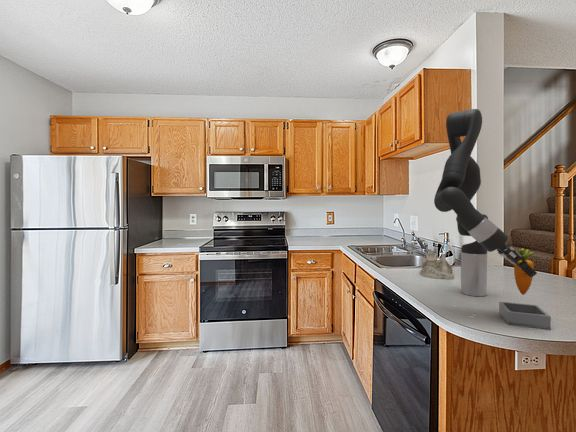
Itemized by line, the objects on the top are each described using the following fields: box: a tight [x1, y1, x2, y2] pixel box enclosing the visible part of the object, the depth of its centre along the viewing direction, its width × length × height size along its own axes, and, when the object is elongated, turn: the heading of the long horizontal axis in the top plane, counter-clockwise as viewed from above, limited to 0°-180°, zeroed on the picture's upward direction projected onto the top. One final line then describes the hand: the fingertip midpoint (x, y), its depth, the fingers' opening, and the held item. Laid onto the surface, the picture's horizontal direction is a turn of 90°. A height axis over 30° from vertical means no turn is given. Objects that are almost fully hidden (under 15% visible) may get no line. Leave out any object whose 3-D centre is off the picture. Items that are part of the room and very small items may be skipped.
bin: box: [498, 301, 552, 331], centre depth 97 cm, size 11×11×4 cm
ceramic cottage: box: [419, 248, 455, 281], centre depth 158 cm, size 16×16×15 cm
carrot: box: [513, 248, 535, 296], centre depth 96 cm, size 5×5×15 cm
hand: (530, 273), depth 96 cm, fingers closed on carrot, 4 cm apart
